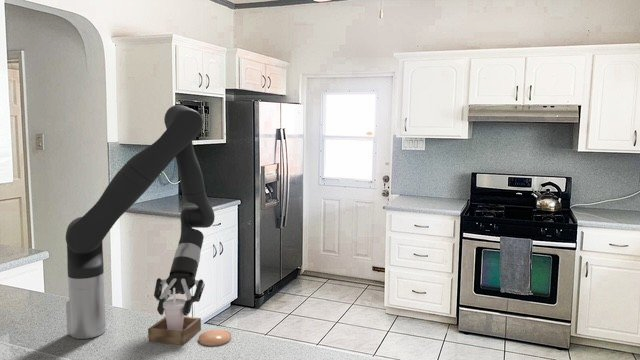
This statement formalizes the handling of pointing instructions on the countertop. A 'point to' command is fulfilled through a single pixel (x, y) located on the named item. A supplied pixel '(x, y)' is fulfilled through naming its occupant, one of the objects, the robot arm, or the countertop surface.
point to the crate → (174, 331)
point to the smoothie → (174, 313)
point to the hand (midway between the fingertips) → (172, 313)
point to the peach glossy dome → (215, 337)
